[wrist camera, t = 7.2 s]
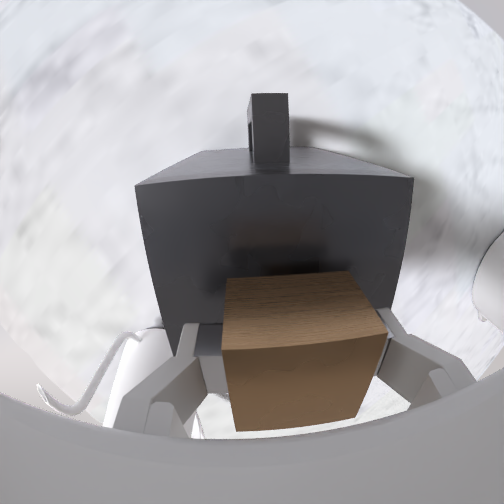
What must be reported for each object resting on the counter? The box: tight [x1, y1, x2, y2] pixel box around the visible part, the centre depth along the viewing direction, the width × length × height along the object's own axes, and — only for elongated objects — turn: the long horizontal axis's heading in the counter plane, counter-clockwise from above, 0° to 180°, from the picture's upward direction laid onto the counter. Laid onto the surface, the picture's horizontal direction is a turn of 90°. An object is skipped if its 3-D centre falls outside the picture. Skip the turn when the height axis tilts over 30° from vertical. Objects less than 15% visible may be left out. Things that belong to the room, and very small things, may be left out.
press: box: [135, 93, 414, 357], centre depth 17 cm, size 10×13×16 cm
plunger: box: [221, 271, 389, 432], centre depth 15 cm, size 7×7×19 cm
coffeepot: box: [37, 328, 205, 439], centre depth 25 cm, size 11×25×19 cm, turn 21°
